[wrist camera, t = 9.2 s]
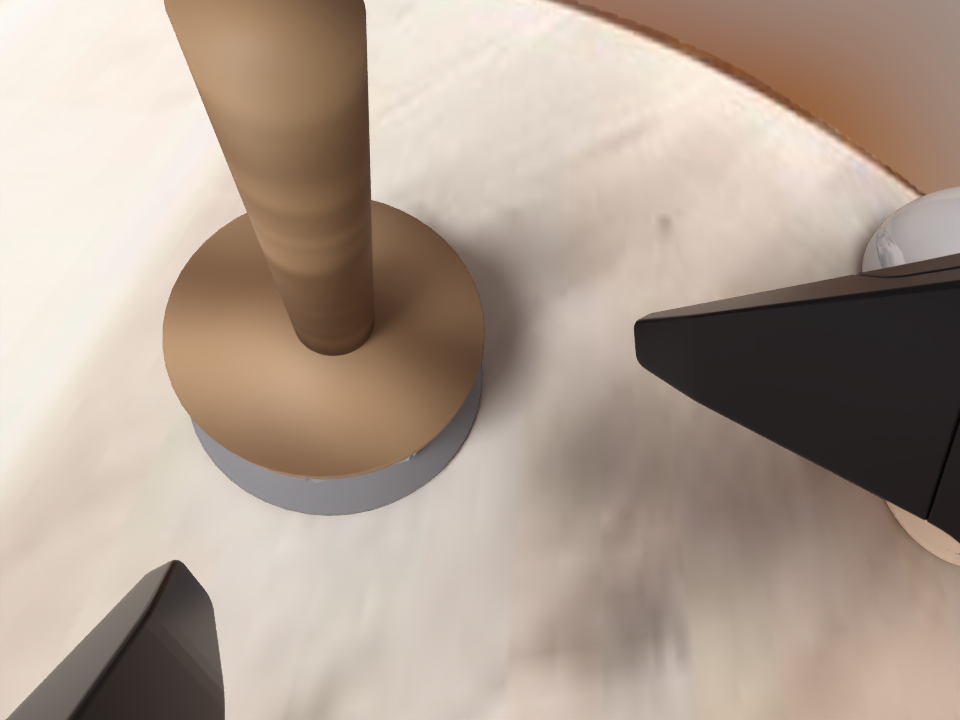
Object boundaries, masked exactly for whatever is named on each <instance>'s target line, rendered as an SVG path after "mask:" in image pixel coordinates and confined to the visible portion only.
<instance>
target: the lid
mask: <svg viewBox="0 0 960 720" xmlns="http://www.w3.org/2000/svg"><path fill="white" fill-rule="evenodd" d="M164 4H165V9H166V12H167V14H168V17H169V19H170V22H171V24H172V27H173V29H174V31H175V34H176V36H177V39H178V41H179V44H180V46H181V49H182V51H183V54H184V56H185V59H186V61H187V64H188V66H189V69H190V71H191V74H192V76H193V79H194V81H195V84H196V86H197V89H198V91H199V94H200V96H201V99H202V101H203V104H204V106H205V109H206V111H207V114H208V116H209V119H210V121H211V124H212V126H213V129H214V131H215V134H216V136H217V139H218V141H219V143H220V146H221V148H222V151H223V153H224V156H225V158H226V161H227V163H228V166H229V168H230V171H231V173H232V176H233V178H234V181H235V183H236V186H237V188H238V191H239V193H240V196H241V198H242V201H243V203H244V206H245V208H246V211H247V213H246V214H244V215H242V216H240V217H238V218H236V219H234V220H233V221H231V222H230V223H228V224H227V225H225V226H224V227H222V228H221V229H220V230H218V231H217V232H216V233H215V234H214V235H212V236H211V237H210V238H209V239H208V240H206V241H205V242H204V244H203V245H202V246H201V247H200V248H199V249H198V250H197V251H196V252H195V253H194V254H193V255H192V257H191V258H190V260H189V261H188V263H187V264H186V265H185V267H184V268H183V270H182V271H181V273H180V275H179V277H178V279H177V281H176V283H175V285H174V287H173V289H172V291H171V294H170V297H169V300H168V303H167V306H166V311H165V317H164V323H163V352H164V359H165V365H166V369H167V372H168V375H169V378H170V381H171V384H172V387H173V389H174V391H175V393H176V395H177V396H178V398H179V400H180V402H181V404H182V406H183V407H184V408H185V410H186V411H187V412H188V414H189V415H190V416H191V418H192V419H193V420H194V422H195V423H196V424H197V425H198V426H199V427H200V428H201V429H202V430H203V431H204V432H205V433H206V434H207V435H208V436H209V437H211V438H212V439H213V440H215V441H216V442H217V443H219V444H220V445H222V446H223V447H224V448H226V449H227V450H229V451H230V452H232V453H233V454H235V455H237V456H238V457H240V458H242V459H244V460H246V461H248V462H250V463H252V464H254V465H256V466H258V467H261V468H263V469H266V470H269V471H272V472H275V473H278V474H282V475H287V476H292V477H297V478H305V479H318V480H326V479H344V478H349V477H355V476H360V475H365V474H369V473H372V472H375V471H378V470H381V469H384V468H387V467H389V466H391V465H393V464H396V463H398V462H400V461H402V460H404V459H406V458H407V457H409V456H411V455H412V454H414V453H415V452H417V451H419V450H420V449H422V448H423V447H424V446H425V445H427V444H428V443H429V442H430V441H432V440H433V439H434V438H435V437H436V436H437V435H438V434H439V433H440V432H441V431H442V430H443V429H444V428H445V427H446V426H447V425H448V424H449V423H450V421H451V420H452V419H453V417H454V416H455V414H456V413H457V412H458V410H459V409H460V407H461V406H462V404H463V402H464V401H465V399H466V397H467V395H468V393H469V391H470V389H471V387H472V385H473V383H474V381H475V378H476V375H477V372H478V370H479V367H480V363H481V358H482V353H483V348H484V319H483V311H482V307H481V302H480V298H479V295H478V292H477V289H476V287H475V284H474V281H473V279H472V277H471V276H470V274H469V272H468V270H467V268H466V266H465V265H464V263H463V262H462V261H461V259H460V258H459V256H458V255H457V254H456V252H455V251H454V250H453V249H452V248H451V247H450V246H449V245H448V243H447V242H446V241H445V240H444V239H443V238H442V237H440V236H439V235H438V234H437V233H436V232H435V231H433V230H432V229H431V228H430V227H428V226H427V225H425V224H424V223H422V222H421V221H419V220H418V219H416V218H414V217H413V216H411V215H409V214H407V213H405V212H403V211H401V210H399V209H396V208H394V207H391V206H389V205H386V204H384V203H380V202H376V201H373V200H371V180H370V144H369V107H368V71H367V35H366V10H365V4H364V1H363V0H164Z"/></svg>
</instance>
